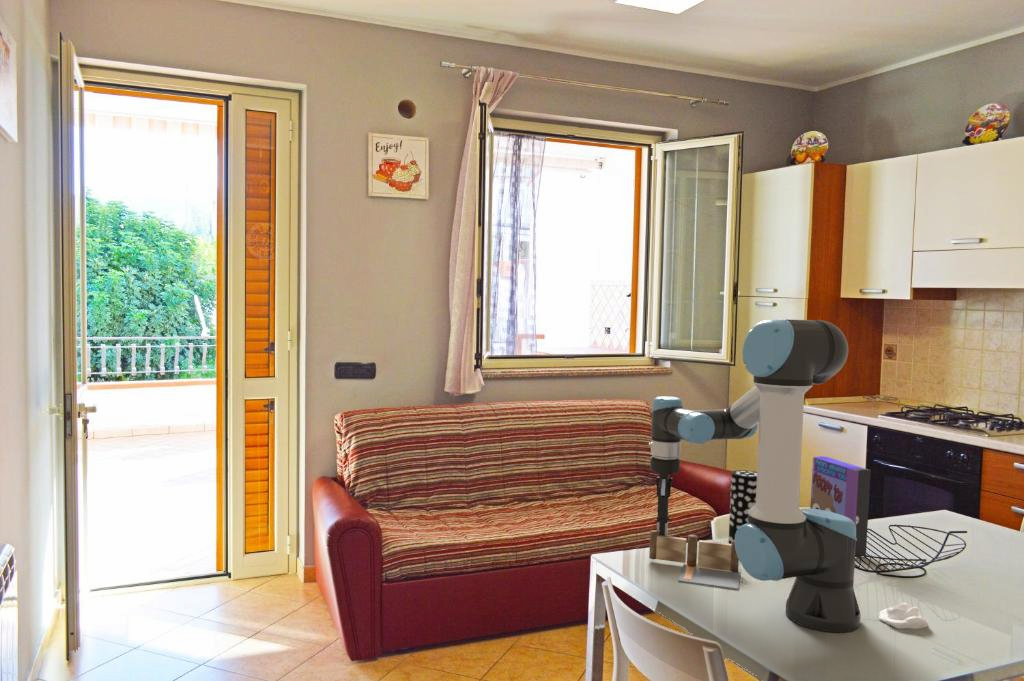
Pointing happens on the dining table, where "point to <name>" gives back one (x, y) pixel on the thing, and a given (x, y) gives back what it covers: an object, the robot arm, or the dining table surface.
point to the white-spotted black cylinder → (741, 499)
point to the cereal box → (842, 494)
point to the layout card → (710, 577)
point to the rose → (902, 617)
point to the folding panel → (667, 547)
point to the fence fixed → (712, 554)
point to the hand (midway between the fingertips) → (661, 545)
